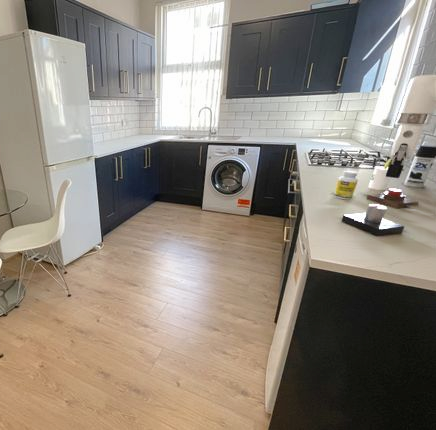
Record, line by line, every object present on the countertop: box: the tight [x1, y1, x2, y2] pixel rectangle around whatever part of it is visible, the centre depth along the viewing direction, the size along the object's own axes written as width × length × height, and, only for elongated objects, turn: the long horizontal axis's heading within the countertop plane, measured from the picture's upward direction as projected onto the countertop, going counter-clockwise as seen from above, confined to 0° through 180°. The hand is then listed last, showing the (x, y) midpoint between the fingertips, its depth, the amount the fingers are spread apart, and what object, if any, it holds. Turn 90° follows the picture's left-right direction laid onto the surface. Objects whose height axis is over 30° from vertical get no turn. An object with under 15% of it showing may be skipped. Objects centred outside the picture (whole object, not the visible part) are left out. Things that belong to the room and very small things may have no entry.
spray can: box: [403, 144, 436, 188], centre depth 134 cm, size 7×7×20 cm
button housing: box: [366, 190, 420, 210], centre depth 116 cm, size 12×10×4 cm
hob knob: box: [364, 203, 388, 223], centre depth 93 cm, size 4×4×5 cm
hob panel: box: [340, 212, 405, 237], centre depth 94 cm, size 12×10×3 cm
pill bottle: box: [333, 170, 359, 200], centre depth 121 cm, size 6×6×12 cm
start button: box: [387, 188, 403, 196], centre depth 115 cm, size 4×4×2 cm
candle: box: [368, 158, 391, 191], centre depth 131 cm, size 6×6×15 cm
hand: (392, 174), depth 92 cm, fingers open, 9 cm apart
